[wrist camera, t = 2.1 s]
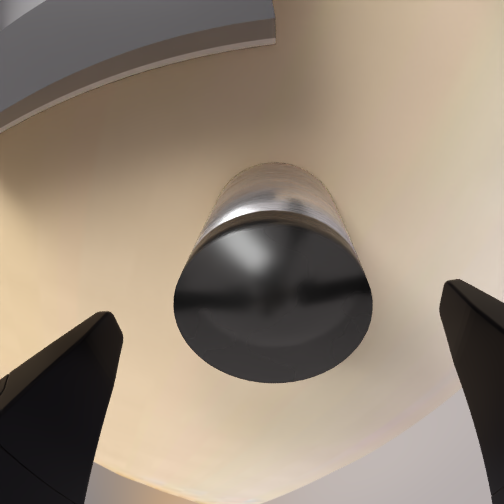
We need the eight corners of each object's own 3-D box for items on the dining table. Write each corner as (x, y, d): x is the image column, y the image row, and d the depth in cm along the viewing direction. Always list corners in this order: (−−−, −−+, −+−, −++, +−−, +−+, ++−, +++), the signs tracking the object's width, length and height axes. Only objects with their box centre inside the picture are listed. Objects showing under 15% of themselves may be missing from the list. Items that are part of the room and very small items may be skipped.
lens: (332, 155, 12) (376, 216, 6) (338, 269, 14) (365, 374, 9) (202, 172, 12) (148, 241, 7) (226, 279, 15) (201, 385, 9)
